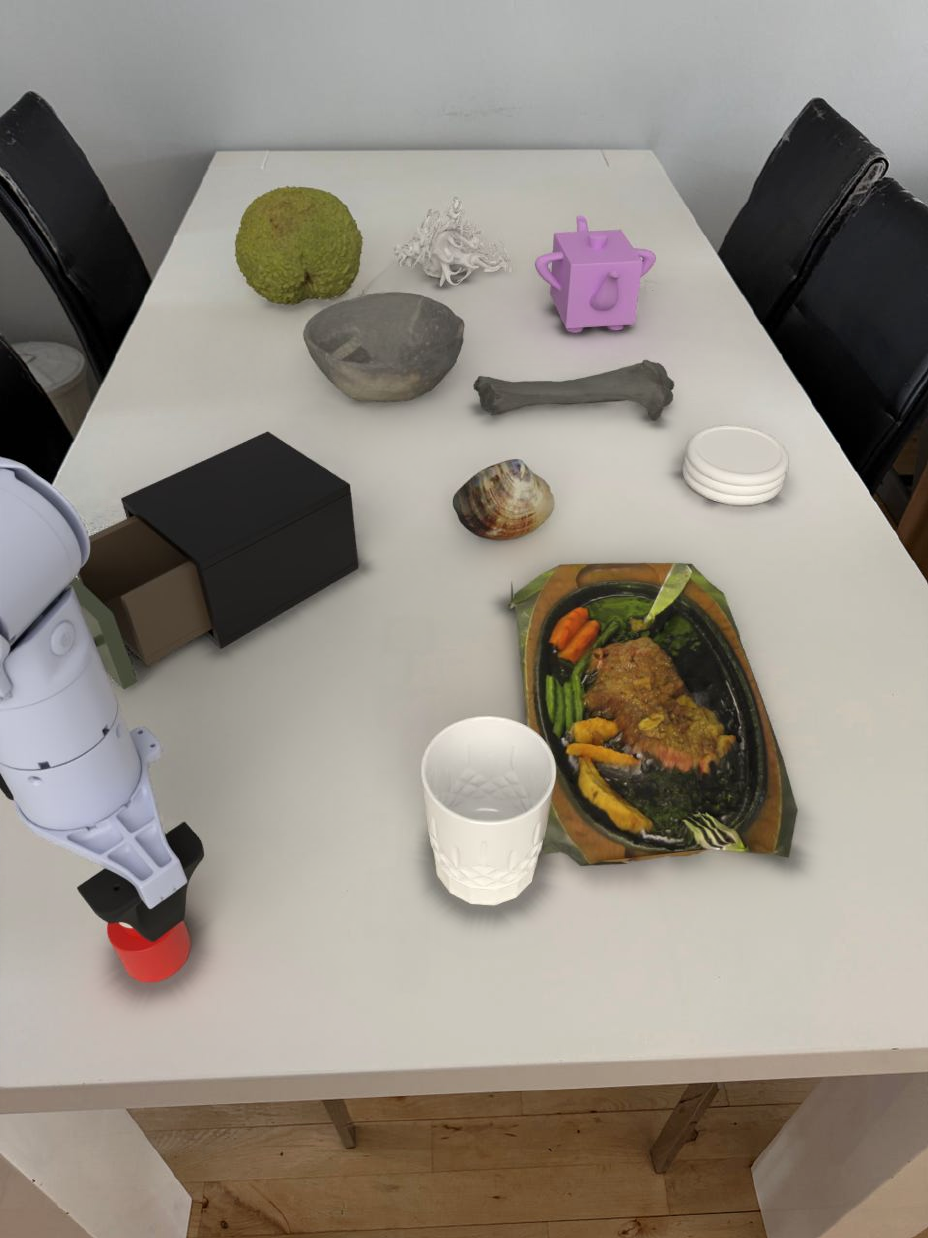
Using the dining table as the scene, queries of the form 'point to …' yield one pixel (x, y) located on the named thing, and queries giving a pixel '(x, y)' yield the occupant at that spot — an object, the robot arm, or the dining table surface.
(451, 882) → the white cup
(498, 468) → the seashell
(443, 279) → the figurine
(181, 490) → the cabinet
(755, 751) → the prepared meal
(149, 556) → the drawer
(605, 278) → the teapot
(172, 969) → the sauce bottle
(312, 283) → the fruit
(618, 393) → the bone
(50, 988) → the dining table surface
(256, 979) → the dining table surface
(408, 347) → the bowl
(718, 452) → the white round flat stack
